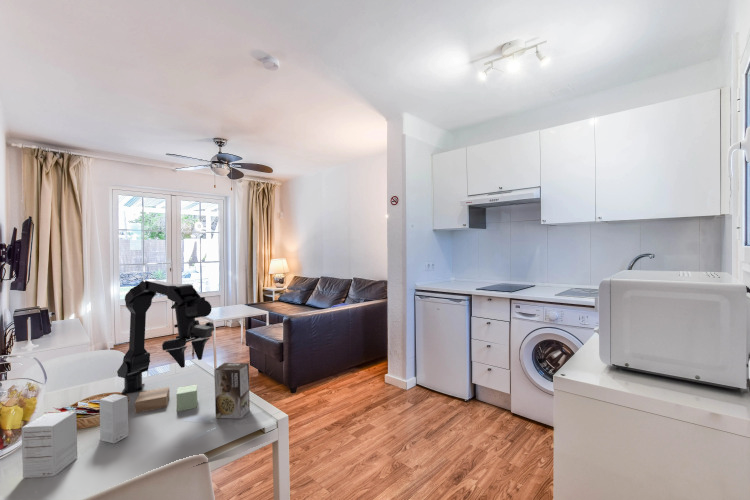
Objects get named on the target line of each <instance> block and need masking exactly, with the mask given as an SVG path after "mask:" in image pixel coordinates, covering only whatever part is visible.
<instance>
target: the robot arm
mask: <svg viewBox="0 0 750 500" xmlns="http://www.w3.org/2000/svg"><path fill="white" fill-rule="evenodd" d="M157 294H160V295H163V296H166V297H167V299H168V300H169V301H171V302H173V305H171V309H172V310H174V312H175V318H176V324H174V328H175V329H176V328H177V332H178V333H177V334H178V335H176V336H175V338H173V339H172V338H171V339H168V340H165V341H163V342H162V344H161V347H162V351H165V352H166V353H168V354H169V355H170V356H171V357H172V358H173V359H174V361H176V363H177V364H178V366H179V367H180V368H185V366H186V361H185V359H186V358H185V351H186V349H187V347H188V345H186V344H187V343H188V342H191V345H192V348H193V350H194V352H195V356H196V358H197V360H198V361H201V360H202V359H203V356H204V355H203V354H204V349H205V345H206V343H207V342H208V341H209V340H210V339H211V338H210V337H212V336H213V334H212V333H213V332H214V331H215V326H214V323H213V322H211V321H207V322H206V323H205V324H200V321H199V320H198V319H199V318H204V317H208V316H210V314H211V312H212V304H211V303H210V301H208V300H206V297H205V296H201V295H200V294H199V293H198V291H197V290H196V289H195V288H194V285H192V284H191V283H180V284H174V283H171V282H166V281H161V280H158V279H156V278H151V279H144V280H141V281H140V283H139V284H137V285H136V286H133V287H132V288H130V289H129V290H128V291H127V293H125V295H124V300H125V301H124V302H125V308H127V310H128V311H129V313H130V315H129V316H130V318H129V319H130V320H129V321H130V322H129V340H128V341H129V343H128V345H129V346H128V350H127V352H126V353H125V354H124V356H123V358H122V364H121V365H120V366H119V368H118V370H117V371H116V373H117V376H118V377H119V378H122V379H123V381H124V382H123V383H124V385H123V386H124V388H123V390H121V394H122V393H123V394H128V393H135V392H139V391H140V392H142V391H143V389H144V387H145V383H143V373H145V372H148V370H149V366H150V363H151V353H150V352H148V351H147V349H146V348H145V347H146V346H145V343H146V323H147V322H146V319H147V312H148V310H149V309H150V307H151V306H152V303H153V299H154V298H155V296H156V295H157ZM196 319H197V320H196Z"/></svg>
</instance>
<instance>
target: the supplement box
mask: <svg viewBox="0 0 750 500" xmlns="http://www.w3.org/2000/svg"><path fill="white" fill-rule="evenodd" d="M21 450H22V451H21V455H22V460H21V461H22V478H23V479H25V478H26V479H31V478H46V477H55V476H56V475H58V474H59V473H60V472H61V471H62V470H64V469H65V468H66V467H68V466H69V465H70V464H72V463H73V462H74V461H75V460H76V459H78V429H77V411H58V412H47V413H45V414H44V415H42V416H40V417H38V418H37V419H34V420H33V421H31V422H29V423H27V424H26V425H24V426H21Z"/></svg>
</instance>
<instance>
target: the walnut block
mask: <svg viewBox="0 0 750 500" xmlns="http://www.w3.org/2000/svg"><path fill="white" fill-rule="evenodd" d="M169 401H170V387H169V386H168V387H161V388H157V389H156V388H155V389H150V390H144V391H143V390H142V391H140V392H139V394H138V396H137V398H136V399H135V402H134V412H135V414H137V413H143V412H147V411H148V412H149V411H152V410H158V409H159V410H160V409H164V408H167V407H168V403H169Z"/></svg>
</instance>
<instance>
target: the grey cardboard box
mask: <svg viewBox="0 0 750 500" xmlns="http://www.w3.org/2000/svg"><path fill="white" fill-rule="evenodd" d="M249 366H250V363H248V362H224V363H222V364H221V365H219V366H217V368H214V370H213V371H214V372H213V374H214V397H215V398H214V401H215V402H214V405H215V406H214V407H215V409H214V410H215V418H216V419H235V420H237V419H242V418H244V417H245V416H246V415H247V413H249V412H250V408H251V407H250V406H251V405H250V404H251V403H250V367H249Z"/></svg>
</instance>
